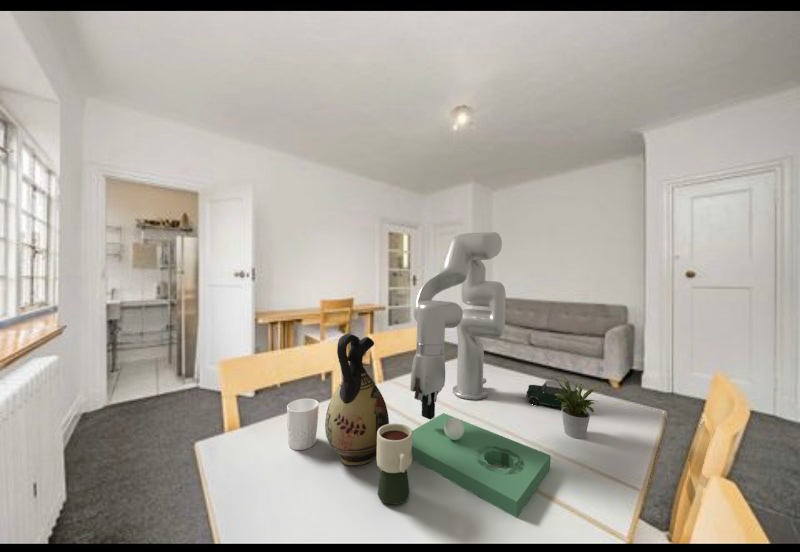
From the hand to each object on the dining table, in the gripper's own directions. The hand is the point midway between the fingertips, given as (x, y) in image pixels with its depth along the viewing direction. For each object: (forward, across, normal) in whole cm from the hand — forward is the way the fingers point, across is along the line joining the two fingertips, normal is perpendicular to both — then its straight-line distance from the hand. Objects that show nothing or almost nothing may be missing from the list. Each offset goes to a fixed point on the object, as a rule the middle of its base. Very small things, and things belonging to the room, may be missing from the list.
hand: (428, 416), depth 82 cm
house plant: (+6, -32, +27) cm, 42 cm away
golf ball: (+1, -1, +8) cm, 8 cm away
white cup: (+7, +24, -22) cm, 34 cm away
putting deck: (+6, -1, +13) cm, 14 cm away
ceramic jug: (+7, +18, -8) cm, 21 cm away
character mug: (+7, +21, +8) cm, 24 cm away
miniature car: (+6, -49, +18) cm, 53 cm away
